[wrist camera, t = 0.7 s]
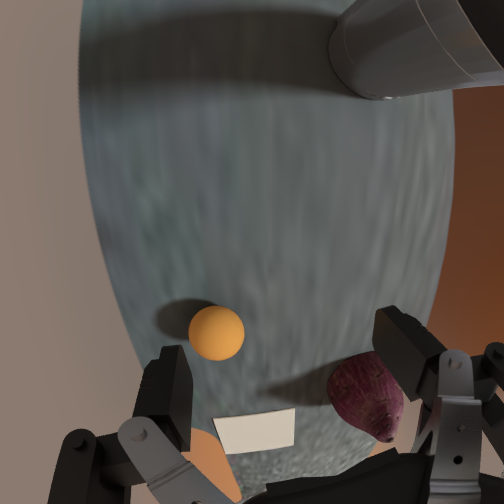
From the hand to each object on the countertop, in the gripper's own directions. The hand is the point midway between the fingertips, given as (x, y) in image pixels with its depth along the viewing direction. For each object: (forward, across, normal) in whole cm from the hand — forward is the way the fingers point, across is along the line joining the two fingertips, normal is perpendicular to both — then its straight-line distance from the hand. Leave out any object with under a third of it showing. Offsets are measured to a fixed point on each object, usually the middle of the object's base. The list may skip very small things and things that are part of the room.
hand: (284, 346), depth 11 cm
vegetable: (+18, -13, +24) cm, 33 cm away
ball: (+14, +4, +9) cm, 18 cm away
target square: (+18, +2, +33) cm, 38 cm away
